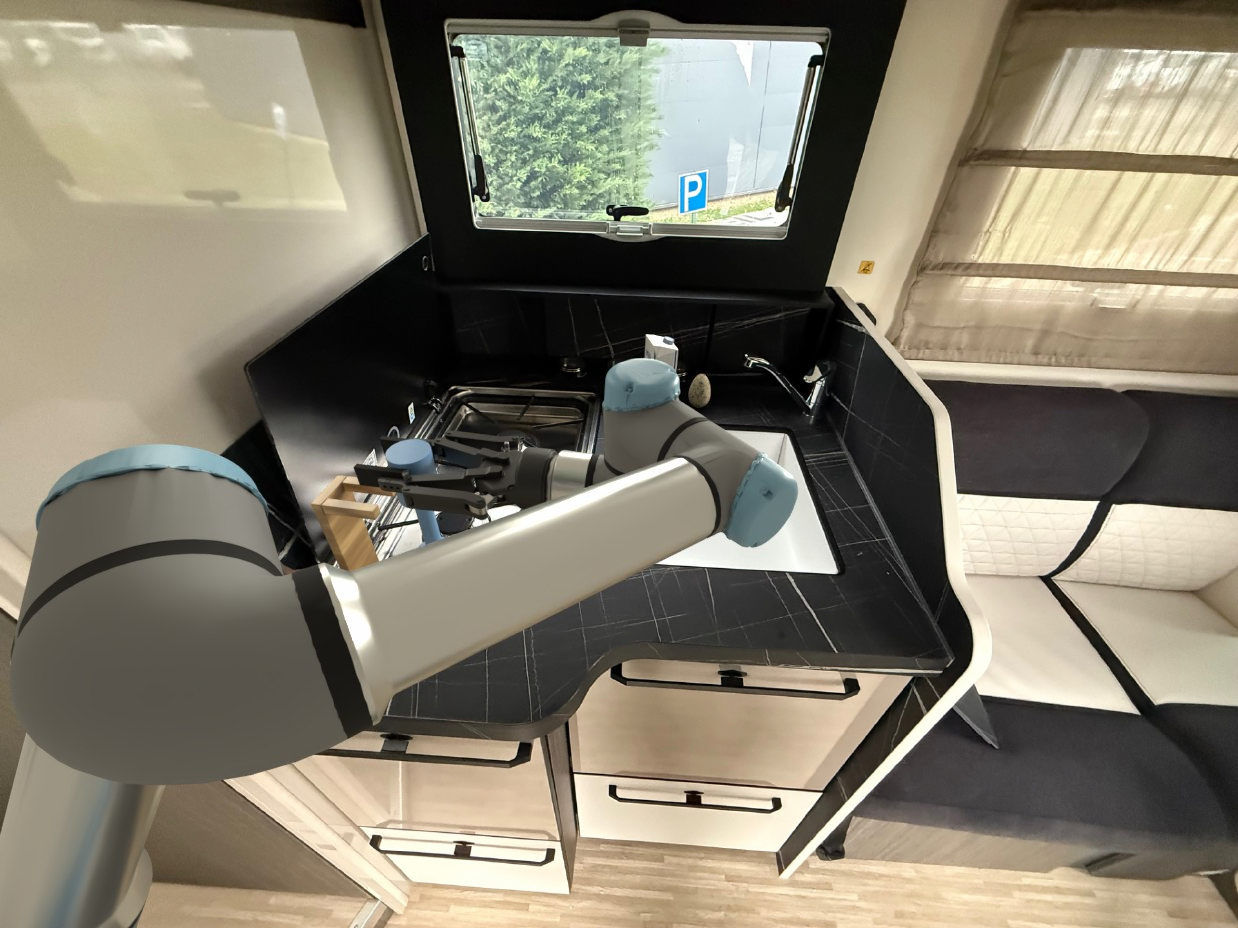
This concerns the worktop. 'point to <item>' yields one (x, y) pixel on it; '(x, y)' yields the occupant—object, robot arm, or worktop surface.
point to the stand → (348, 521)
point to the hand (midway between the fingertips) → (371, 459)
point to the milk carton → (661, 350)
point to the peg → (418, 462)
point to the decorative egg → (699, 391)
